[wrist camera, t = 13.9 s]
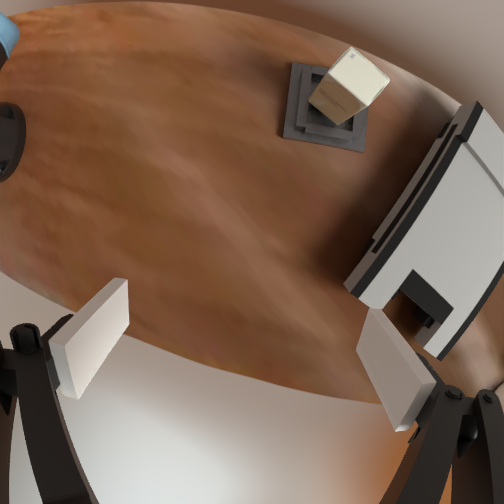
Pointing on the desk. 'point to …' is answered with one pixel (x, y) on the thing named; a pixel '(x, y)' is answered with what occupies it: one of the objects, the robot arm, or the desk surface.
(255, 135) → the desk surface
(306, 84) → the collar
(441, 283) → the game console
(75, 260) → the desk surface
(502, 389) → the mug
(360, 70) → the box
